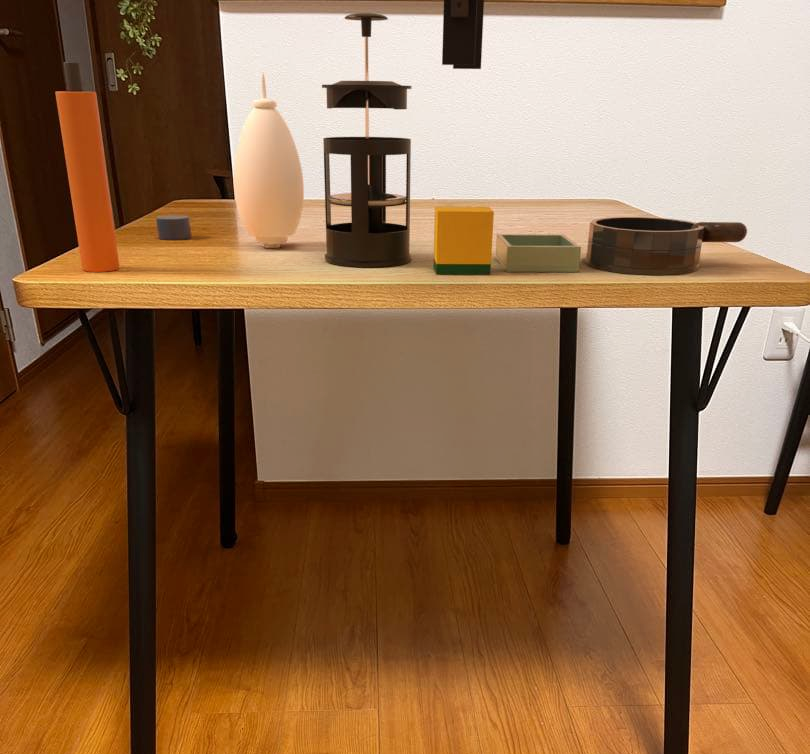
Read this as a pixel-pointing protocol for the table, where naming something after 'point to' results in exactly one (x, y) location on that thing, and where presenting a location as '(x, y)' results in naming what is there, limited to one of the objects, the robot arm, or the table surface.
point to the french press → (367, 174)
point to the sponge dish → (537, 253)
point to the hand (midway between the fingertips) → (462, 67)
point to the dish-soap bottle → (87, 173)
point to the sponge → (463, 240)
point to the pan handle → (722, 231)
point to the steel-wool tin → (173, 227)
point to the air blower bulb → (268, 175)
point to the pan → (644, 245)
